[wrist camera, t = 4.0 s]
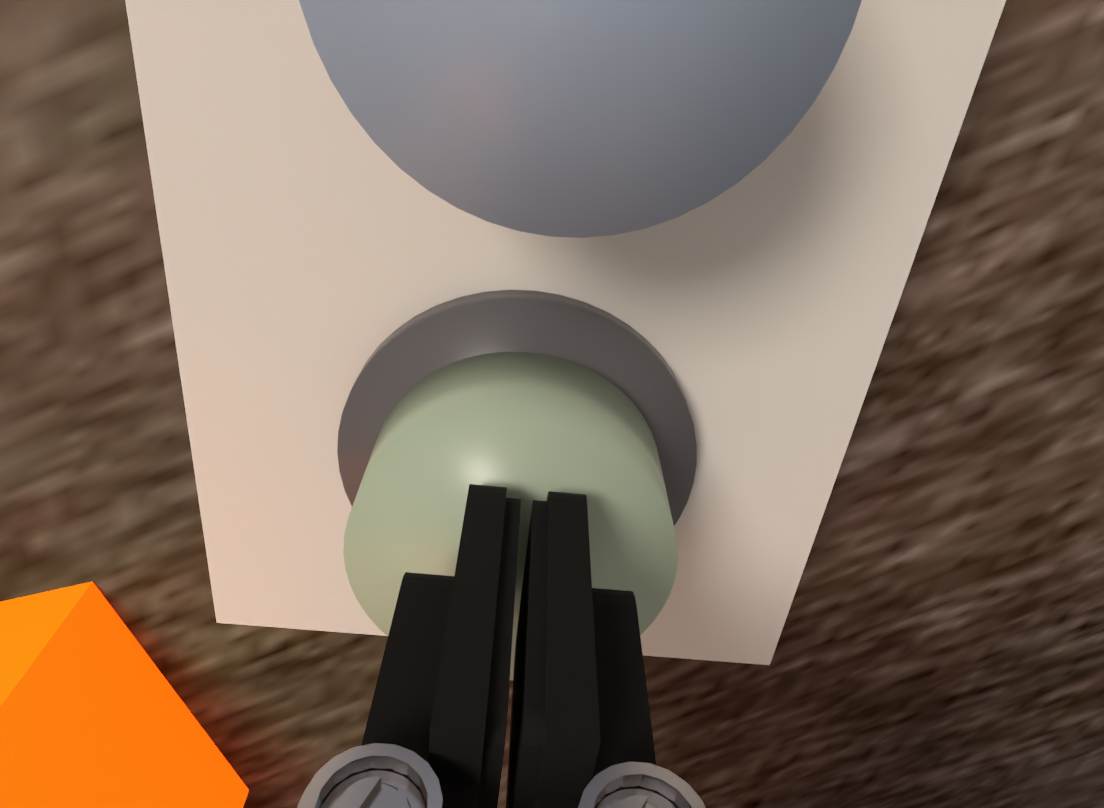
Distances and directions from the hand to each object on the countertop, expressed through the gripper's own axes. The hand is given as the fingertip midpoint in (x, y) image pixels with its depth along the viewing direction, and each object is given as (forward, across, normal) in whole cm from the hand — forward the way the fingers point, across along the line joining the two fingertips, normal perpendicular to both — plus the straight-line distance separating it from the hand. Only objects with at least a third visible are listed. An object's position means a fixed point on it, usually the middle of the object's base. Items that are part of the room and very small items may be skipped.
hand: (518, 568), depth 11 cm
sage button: (+3, 0, 0) cm, 3 cm away
